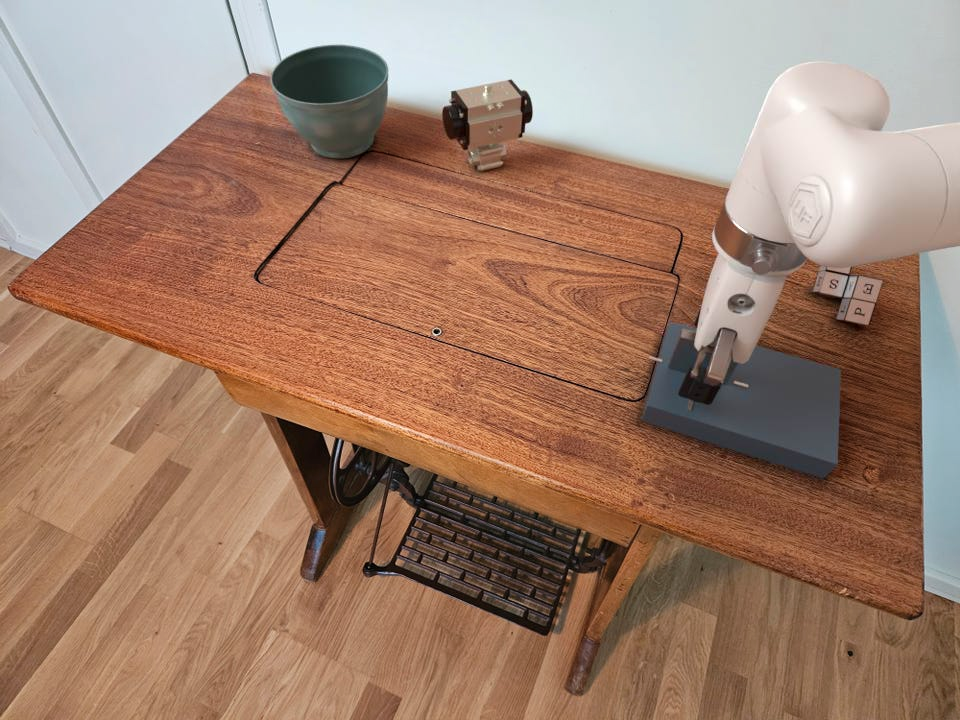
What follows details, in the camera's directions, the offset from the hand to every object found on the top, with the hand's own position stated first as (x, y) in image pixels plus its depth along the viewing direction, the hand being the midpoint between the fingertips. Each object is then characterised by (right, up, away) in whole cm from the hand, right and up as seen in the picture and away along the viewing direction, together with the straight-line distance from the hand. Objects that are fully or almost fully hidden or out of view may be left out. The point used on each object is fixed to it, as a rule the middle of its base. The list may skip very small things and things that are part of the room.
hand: (702, 361), depth 63 cm
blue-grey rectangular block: (+5, -4, +3) cm, 7 cm away
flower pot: (-44, +33, +32) cm, 63 cm away
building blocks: (+20, +7, +12) cm, 25 cm away
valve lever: (0, -1, +1) cm, 2 cm away
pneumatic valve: (-21, +29, +28) cm, 46 cm away
